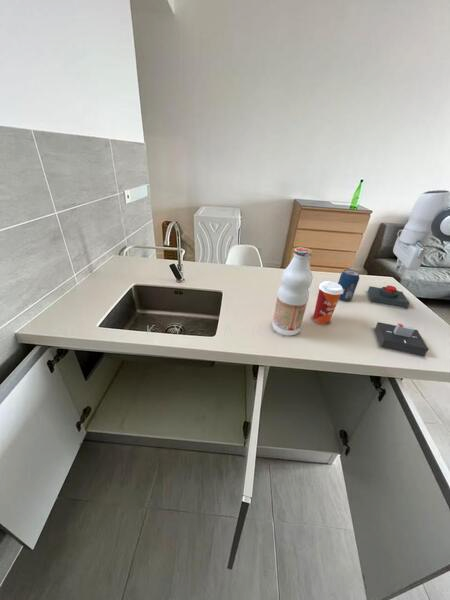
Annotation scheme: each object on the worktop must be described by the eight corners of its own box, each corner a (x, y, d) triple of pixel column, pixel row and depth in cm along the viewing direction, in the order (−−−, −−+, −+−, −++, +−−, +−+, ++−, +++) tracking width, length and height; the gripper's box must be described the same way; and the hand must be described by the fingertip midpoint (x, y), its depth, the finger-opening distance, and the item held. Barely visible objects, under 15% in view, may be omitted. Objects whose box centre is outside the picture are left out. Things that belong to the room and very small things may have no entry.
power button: (393, 289, 103) (395, 286, 102) (395, 293, 100) (397, 290, 99) (384, 288, 104) (385, 284, 103) (386, 292, 101) (387, 288, 100)
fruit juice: (273, 335, 80) (289, 254, 65) (270, 318, 88) (284, 243, 73) (302, 337, 79) (324, 256, 65) (296, 320, 87) (315, 245, 73)
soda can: (339, 292, 107) (348, 267, 101) (354, 299, 103) (364, 273, 96) (330, 296, 104) (338, 270, 97) (345, 304, 99) (355, 277, 93)
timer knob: (408, 334, 78) (413, 326, 77) (410, 337, 77) (415, 329, 75) (393, 331, 80) (397, 323, 78) (394, 334, 78) (398, 325, 76)
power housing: (399, 296, 106) (404, 287, 104) (406, 308, 98) (411, 299, 96) (367, 291, 109) (371, 282, 107) (371, 302, 101) (375, 292, 99)
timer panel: (413, 336, 83) (417, 329, 81) (424, 356, 74) (429, 348, 73) (374, 328, 85) (378, 321, 84) (380, 347, 77) (384, 339, 76)
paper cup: (320, 327, 85) (331, 292, 77) (306, 315, 90) (315, 282, 83) (337, 322, 87) (349, 288, 80) (322, 311, 93) (332, 279, 86)
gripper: (435, 247, 80) (416, 284, 88) (415, 231, 97) (400, 263, 104) (414, 244, 82) (397, 281, 89) (397, 229, 99) (384, 261, 106)
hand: (398, 271), depth 97 cm, fingers closed
